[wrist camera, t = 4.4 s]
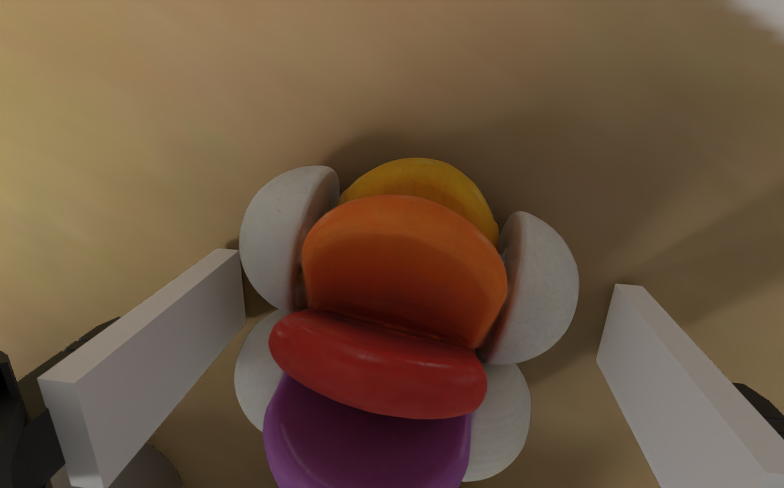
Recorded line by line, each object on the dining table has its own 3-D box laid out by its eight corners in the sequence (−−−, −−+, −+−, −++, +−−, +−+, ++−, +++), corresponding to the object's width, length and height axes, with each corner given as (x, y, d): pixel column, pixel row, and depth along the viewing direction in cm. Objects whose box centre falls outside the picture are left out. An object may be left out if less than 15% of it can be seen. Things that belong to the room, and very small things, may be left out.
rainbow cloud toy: (580, 178, 12) (747, 304, 5) (490, 436, 16) (520, 707, 9) (288, 119, 12) (95, 166, 6) (266, 383, 16) (133, 602, 9)
